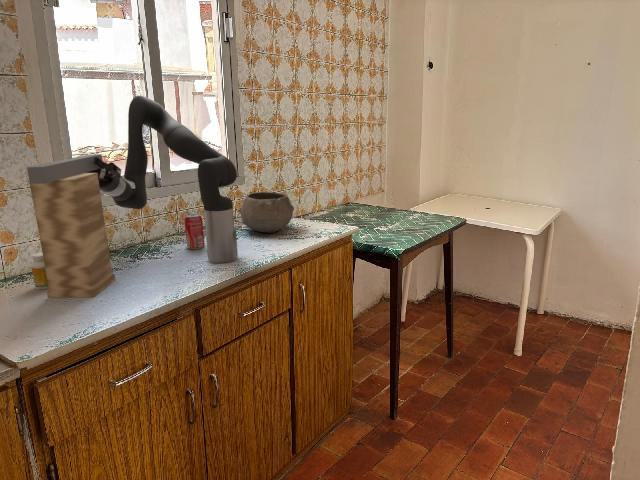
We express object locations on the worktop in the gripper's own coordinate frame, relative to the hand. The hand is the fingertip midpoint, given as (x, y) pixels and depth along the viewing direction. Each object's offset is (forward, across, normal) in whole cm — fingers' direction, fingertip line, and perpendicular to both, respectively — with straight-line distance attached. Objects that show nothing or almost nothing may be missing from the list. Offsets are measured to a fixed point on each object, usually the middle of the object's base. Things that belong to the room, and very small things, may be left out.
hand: (82, 160), depth 139 cm
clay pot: (-63, +44, +5) cm, 77 cm away
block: (+5, 0, +6) cm, 8 cm away
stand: (-9, 0, +35) cm, 36 cm away
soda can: (-43, +21, +16) cm, 51 cm away
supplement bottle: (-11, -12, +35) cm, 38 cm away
